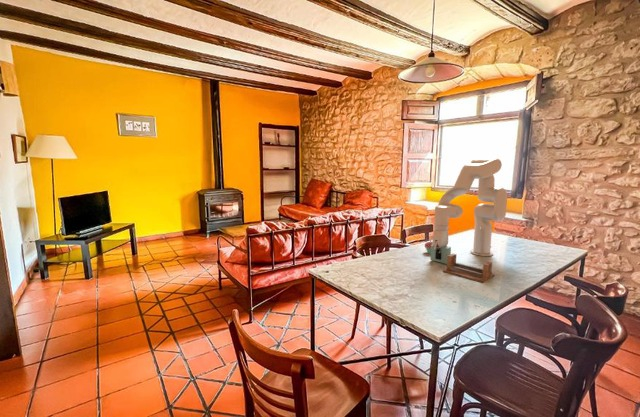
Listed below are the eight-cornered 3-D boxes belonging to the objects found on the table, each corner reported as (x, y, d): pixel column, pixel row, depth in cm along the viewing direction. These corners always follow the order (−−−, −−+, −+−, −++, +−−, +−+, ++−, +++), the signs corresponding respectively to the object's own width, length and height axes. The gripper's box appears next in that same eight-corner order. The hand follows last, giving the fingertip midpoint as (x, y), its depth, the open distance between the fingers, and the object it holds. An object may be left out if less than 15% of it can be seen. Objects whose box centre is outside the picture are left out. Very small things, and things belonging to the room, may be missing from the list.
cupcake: (433, 255, 185) (434, 236, 183) (421, 252, 192) (422, 234, 190) (440, 252, 191) (441, 234, 189) (428, 250, 197) (429, 232, 195)
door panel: (433, 258, 178) (434, 243, 176) (450, 262, 170) (450, 247, 169) (430, 259, 175) (430, 245, 174) (446, 263, 168) (447, 248, 166)
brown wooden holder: (455, 265, 166) (456, 252, 165) (494, 275, 151) (495, 260, 150) (442, 271, 157) (443, 257, 156) (483, 282, 142) (484, 266, 141)
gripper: (442, 224, 178) (441, 253, 180) (427, 228, 167) (426, 260, 170) (454, 225, 172) (453, 256, 175) (440, 230, 161) (439, 263, 164)
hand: (440, 257), depth 172 cm, fingers closed on door panel, 4 cm apart
